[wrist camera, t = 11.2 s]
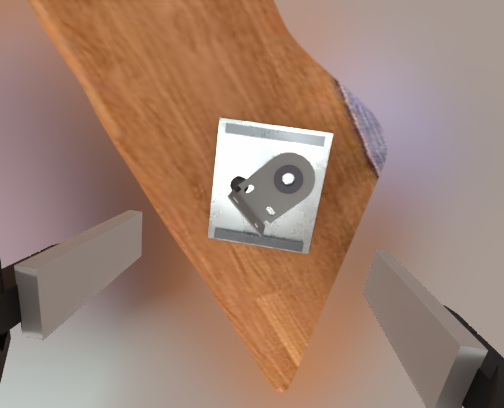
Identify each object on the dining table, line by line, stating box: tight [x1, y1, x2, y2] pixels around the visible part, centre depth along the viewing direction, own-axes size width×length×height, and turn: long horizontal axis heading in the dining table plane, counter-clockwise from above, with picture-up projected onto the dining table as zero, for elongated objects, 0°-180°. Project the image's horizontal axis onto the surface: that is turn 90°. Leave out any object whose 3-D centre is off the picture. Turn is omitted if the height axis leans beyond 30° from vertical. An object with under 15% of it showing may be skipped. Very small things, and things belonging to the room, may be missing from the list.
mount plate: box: [208, 118, 333, 254], centre depth 33 cm, size 16×14×2 cm
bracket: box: [227, 153, 315, 237], centre depth 31 cm, size 7×10×3 cm, turn 129°
